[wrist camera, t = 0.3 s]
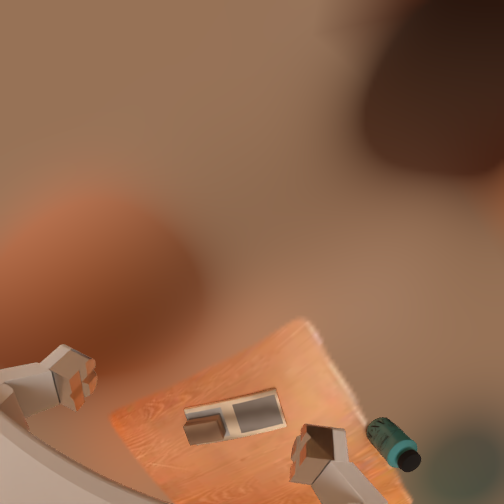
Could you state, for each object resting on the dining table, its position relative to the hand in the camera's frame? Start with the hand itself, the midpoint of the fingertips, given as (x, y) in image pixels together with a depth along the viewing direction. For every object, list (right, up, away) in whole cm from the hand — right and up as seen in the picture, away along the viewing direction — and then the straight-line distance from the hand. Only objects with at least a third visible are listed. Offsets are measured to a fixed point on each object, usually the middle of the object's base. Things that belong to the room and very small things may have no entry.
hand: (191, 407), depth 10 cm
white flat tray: (-1, -30, +48) cm, 57 cm away
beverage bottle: (+30, -34, +46) cm, 65 cm away
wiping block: (-7, -31, +47) cm, 56 cm away
